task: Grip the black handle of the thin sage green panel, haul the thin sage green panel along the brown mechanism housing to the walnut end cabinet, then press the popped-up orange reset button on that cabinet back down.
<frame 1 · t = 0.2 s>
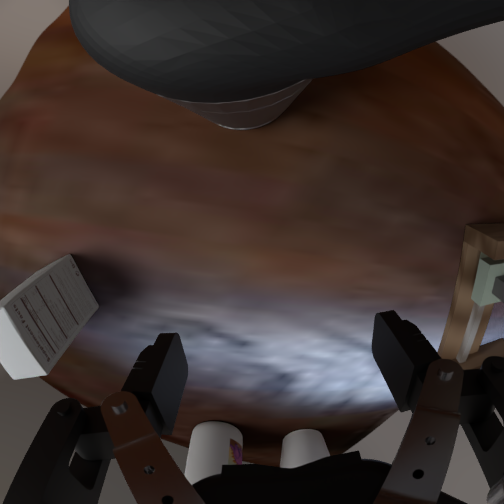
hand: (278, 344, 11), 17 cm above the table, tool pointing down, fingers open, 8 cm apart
brown mechanism housing: (469, 313, 31), on the table
milk bottle: (217, 432, 39), on the table
supplement box: (67, 287, 31), on the table
foam cup: (302, 438, 40), on the table
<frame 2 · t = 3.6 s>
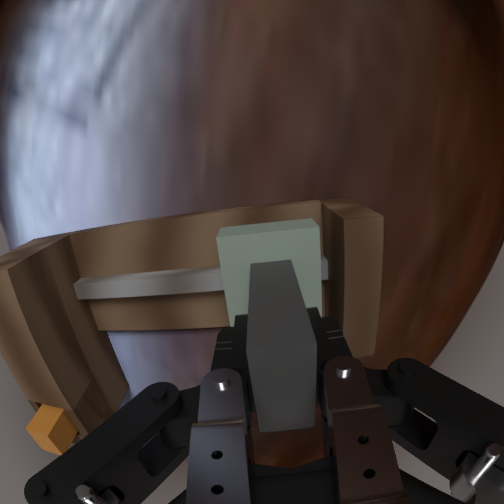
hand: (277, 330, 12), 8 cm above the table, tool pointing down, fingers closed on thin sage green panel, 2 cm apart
brown mechanism housing: (169, 273, 20), on the table
reset button: (56, 423, 15), point 8 cm above the table, slide at 0.0 cm
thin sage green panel: (275, 313, 14), point 7 cm above the table, slide at -7.0 cm, touching gripper
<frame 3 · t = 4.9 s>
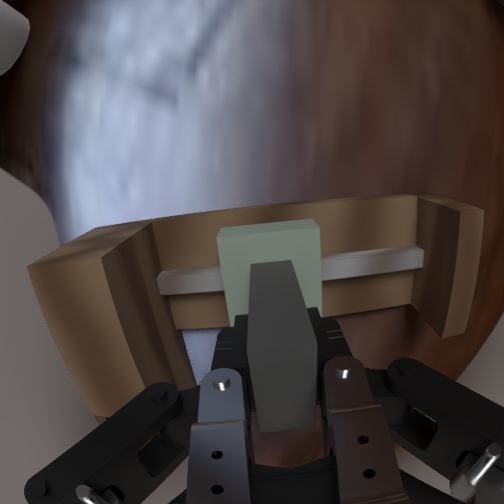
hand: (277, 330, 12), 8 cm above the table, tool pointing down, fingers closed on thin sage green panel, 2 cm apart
brown mechanism housing: (267, 264, 20), on the table
reset button: (132, 439, 15), point 8 cm above the table, slide at 0.0 cm
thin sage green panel: (276, 313, 14), point 7 cm above the table, slide at -0.2 cm, touching gripper
foam cup: (8, 46, 14), on the table
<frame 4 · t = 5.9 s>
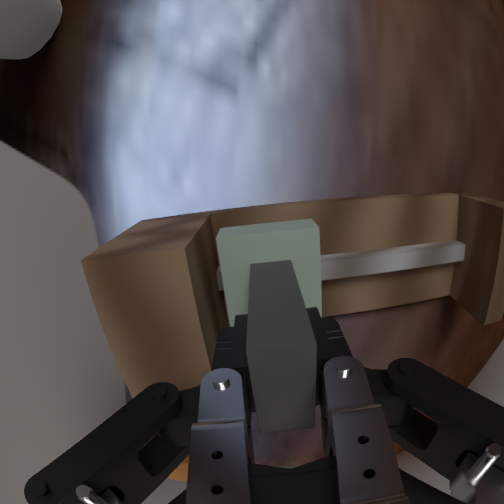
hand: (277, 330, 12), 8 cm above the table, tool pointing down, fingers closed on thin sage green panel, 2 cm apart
brown mechanism housing: (324, 258, 20), on the table
reset button: (189, 444, 15), point 8 cm above the table, slide at 0.0 cm
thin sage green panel: (275, 313, 14), point 7 cm above the table, slide at 3.7 cm, touching gripper
foam cup: (36, 27, 14), on the table
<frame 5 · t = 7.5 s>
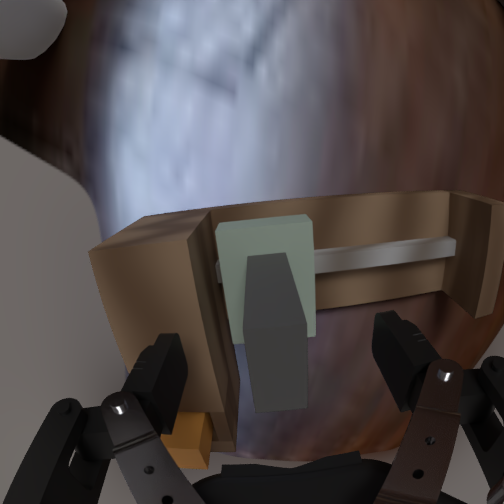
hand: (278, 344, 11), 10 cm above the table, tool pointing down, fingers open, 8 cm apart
brown mechanism housing: (318, 252, 21), on the table
reset button: (188, 432, 16), point 8 cm above the table, slide at 0.0 cm
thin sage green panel: (271, 302, 15), point 7 cm above the table, slide at 3.7 cm
foam cup: (41, 29, 15), on the table
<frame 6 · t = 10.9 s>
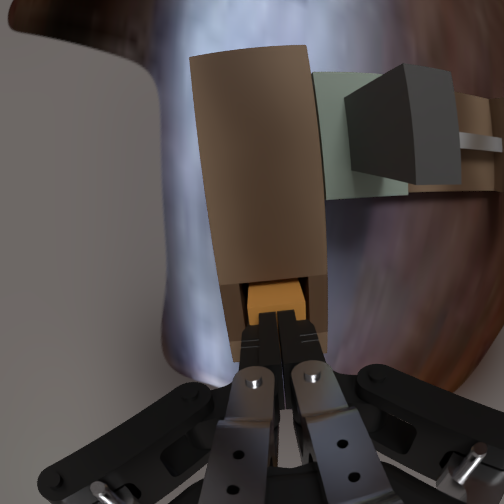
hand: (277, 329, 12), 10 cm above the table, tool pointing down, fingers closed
brown mechanism housing: (388, 137, 19), on the table
reset button: (275, 304, 15), point 7 cm above the table, slide at 1.0 cm, touching gripper
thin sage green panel: (377, 131, 13), point 7 cm above the table, slide at 3.7 cm
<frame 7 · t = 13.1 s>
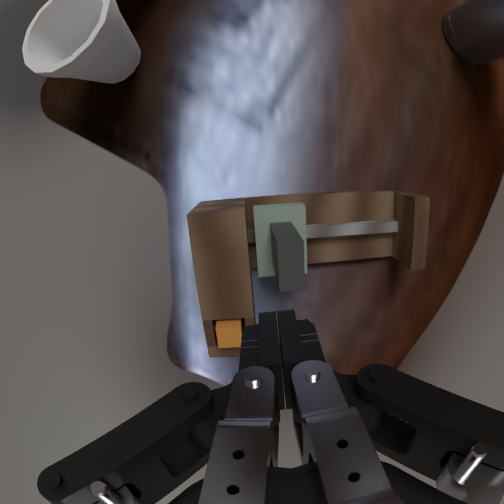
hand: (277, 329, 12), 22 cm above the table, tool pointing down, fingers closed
brown mechanism housing: (308, 227, 34), on the table
reset button: (230, 325, 30), point 7 cm above the table, slide at 1.7 cm
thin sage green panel: (283, 247, 28), point 7 cm above the table, slide at 3.7 cm
foam cup: (117, 60, 27), on the table
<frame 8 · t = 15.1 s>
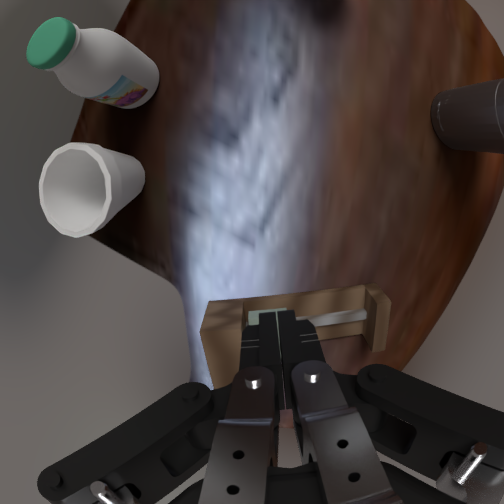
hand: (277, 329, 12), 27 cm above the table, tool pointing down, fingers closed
brown mechanism housing: (294, 317, 43), on the table
milk bottle: (134, 83, 33), on the table
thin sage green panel: (270, 346, 37), point 7 cm above the table, slide at 3.7 cm
foam cup: (124, 177, 37), on the table
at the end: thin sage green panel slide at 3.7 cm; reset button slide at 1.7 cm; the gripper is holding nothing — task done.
